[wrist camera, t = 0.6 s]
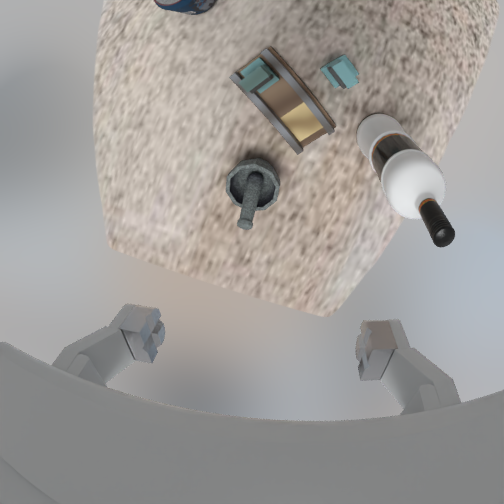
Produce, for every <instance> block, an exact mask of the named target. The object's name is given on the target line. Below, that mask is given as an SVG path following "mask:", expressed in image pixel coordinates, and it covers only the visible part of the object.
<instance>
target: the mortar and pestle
mask: <svg viewBox="0 0 504 504" xmlns="http://www.w3.org/2000/svg"><path fill="white" fill-rule="evenodd" d="M279 187H280V179H279V177H278V175H277V174H276V172H275V170H274V168H273V166H271V165H270V164H269V162H267V161H265V160H263V159H261V158H255V159H250V160H244V161H241V162H240V163H239V164H238V165H237V166H236V167H235V168H234V169H233V170H232V171H231V172H230V173H229V174H228V176H227V182H226V192H227V194H228V195H229V197H230V198H231V200H232V202H233V203H234V204H235V205H237V206H239V207H241V214H240V219H239V220H238V222H237V226H238V227H240V228H242V229H246V230H249V229H252V226H253V223H252V220H253V217H254V213H255V211H257V210H265V209H267V208H268V207H269V206H271V205H272V204H273V203H274V202H276V201H277V197H278V192H279Z"/></svg>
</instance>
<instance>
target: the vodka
mask: <svg viewBox="0 0 504 504" xmlns="http://www.w3.org/2000/svg"><path fill="white" fill-rule="evenodd" d="M356 137H357V143H358V146H359V148H360V150H361V151H362V153H363V154H364V155H365V156H366V157H367V158H368V159H369V161H370V164H371V167H372V168H373V170H374V171H375V172H376V173H377V175H378V177H379V180H380V182H381V185H382V189H383V191H384V193H385V195H386V198H387V201H388V202H389V204H390V206H391V207H392V208H393V209H394V211H396V212H397V213H398V214H400V215H401V216H403V217H406V218H410V219H421V218H422V219H423V221H424V223H425V225H426V227H427V229H428V231H429V233H430V236H431V238H432V240H433V242H434V244H435V245H436V246H437V247H445V246H447V245H449V244H450V243H451V242H452V241H453V239H454V237H455V231H454V229H453V228H452V226H451V224H450V222H449V221H448V219H447V218H446V216H445V215H444V212H443V211H442V209H441V208H440V205H441V203H442V202H443V199H444V196H445V190H446V185H445V179H444V176H443V173H442V171H441V169H440V168H439V166H438V165H437V164H436V163H434V162H433V160H432V159H431V158H430V157H429V156H428V155H427V154H425V153H424V152H423V151H422V150H421V149H420V148H419V147H418V146H417V145H416V144H415V142H414V140H413V139H412V138H411V137H410V136H409V135H408V134H406V133H405V132H404V130H403V128H402V126H401V125H400V124H399V123H398V122H397V121H396V120H395V119H394V118H392V117H391V116H389V115H385V114H374V115H371V116H369V117H367V118H365V119H364V120H363V121H362V122H361V124H360V125H359V127H358V130H357V136H356Z"/></svg>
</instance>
